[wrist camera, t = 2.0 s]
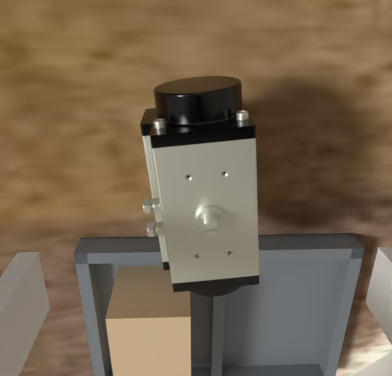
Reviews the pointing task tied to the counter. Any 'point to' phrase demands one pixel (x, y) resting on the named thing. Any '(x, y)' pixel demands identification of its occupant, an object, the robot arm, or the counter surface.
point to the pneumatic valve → (203, 184)
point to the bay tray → (218, 310)
